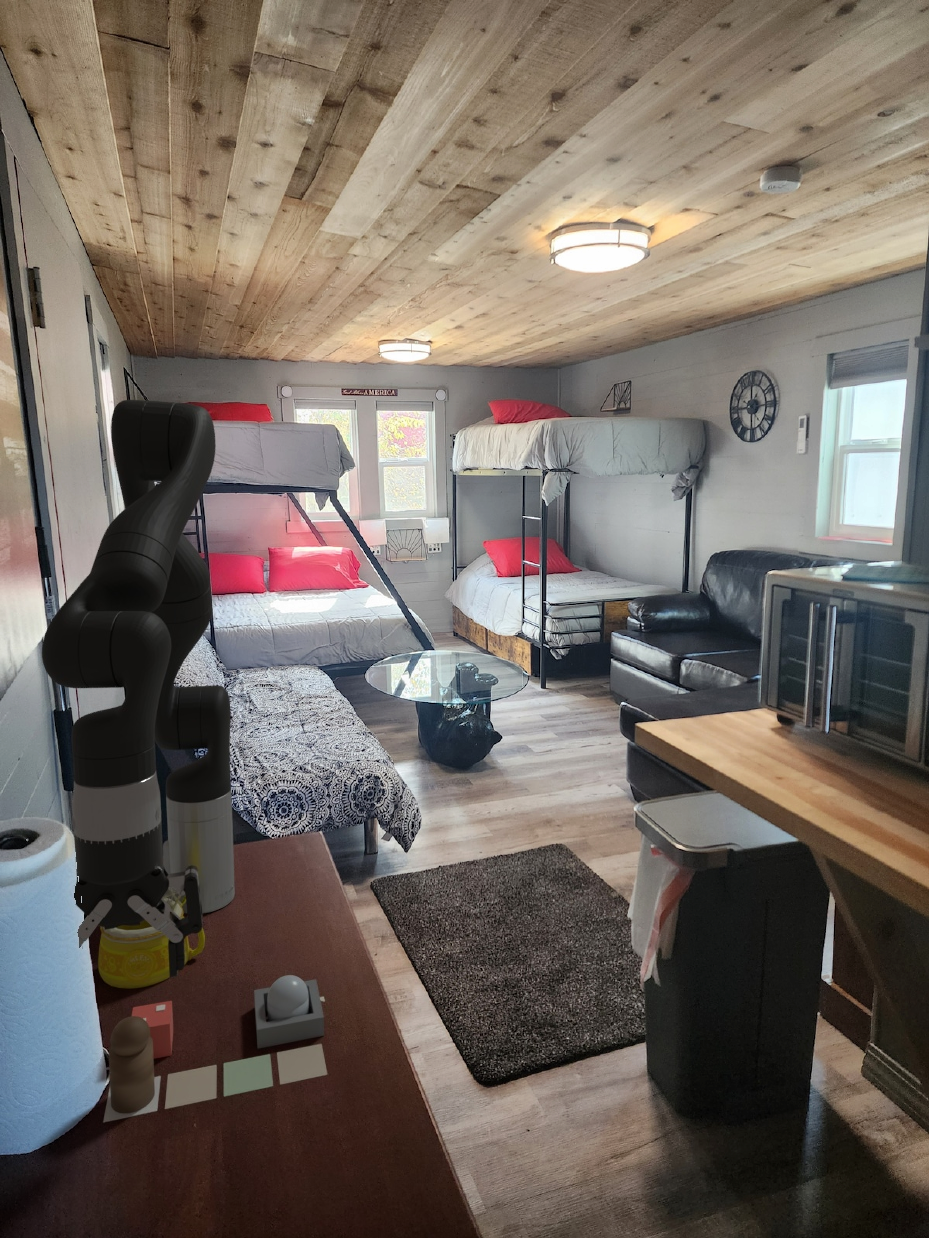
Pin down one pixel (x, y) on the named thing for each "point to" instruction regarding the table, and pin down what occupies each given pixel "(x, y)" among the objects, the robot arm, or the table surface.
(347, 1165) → the table surface
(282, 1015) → the capsule
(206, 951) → the table surface
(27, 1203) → the table surface
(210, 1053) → the table surface
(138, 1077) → the brown round-topped cylinder
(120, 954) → the mug
